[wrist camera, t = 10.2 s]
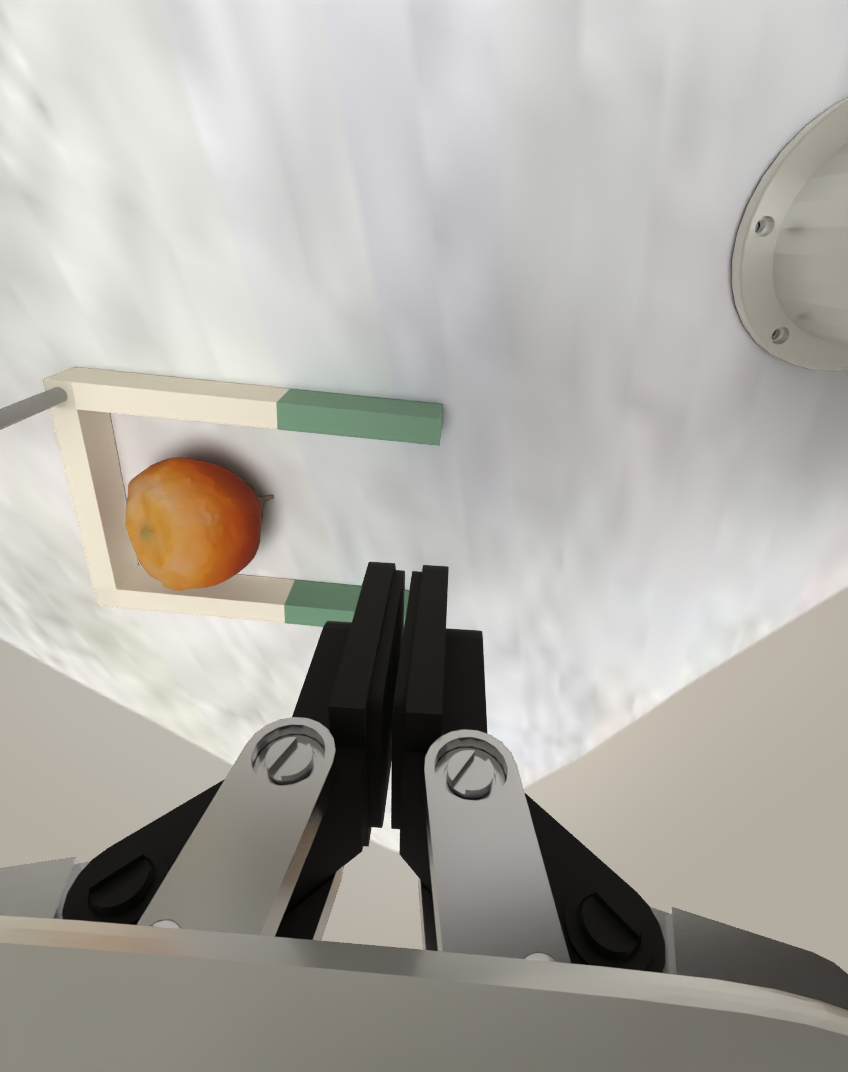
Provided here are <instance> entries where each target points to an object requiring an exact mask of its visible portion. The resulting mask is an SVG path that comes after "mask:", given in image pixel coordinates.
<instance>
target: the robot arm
mask: <svg viewBox="0 0 848 1072" xmlns="http://www.w3.org/2000/svg"><path fill="white" fill-rule="evenodd" d="M758 221H759V222H760V228H759V230H758V231H757V232H755V228H756V224H757V222H758ZM732 288H733V294H734V300H735V305H736V308H737V311H738V313H739V316H740V318H741V320H742V323H743V325H744V327H745V328H746V330H747V331H748V332H749V334H750V335H751V336H752V338H753V339H754V340H755V342H756V343H757V344H759V345H760V346H761V347H762V348H764V349H765V350H766V351H767V352H768V353H770V354H771V355H773V356H775V357H777V358H780V359H782V360H784V361H786V362H788V363H791V364H794V365H797V366H801V367H804V368H807V369H816V370H825V371H833V370H844V369H848V97H847V98H846V99H844V100H842V101H840V102H838V103H836V104H835V105H833V106H831V107H830V108H829V109H828V110H826V111H825V112H824V113H822V114H821V115H820V116H818V117H817V118H816V119H814V120H813V121H812V122H811V123H809V124H808V125H807V126H805V127H804V129H803V130H802V131H801V132H800V133H799V134H798V135H797V136H796V137H795V138H794V139H793V140H792V141H791V142H790V143H789V144H788V145H787V146H786V147H785V148H784V149H783V150H782V151H781V153H780V154H779V155H778V157H777V158H776V159H775V161H774V162H773V163H772V165H771V166H770V168H769V169H768V170H767V172H766V173H765V174H764V176H763V177H762V179H761V181H760V183H759V185H758V186H757V188H756V190H755V192H754V194H753V196H752V197H751V199H750V201H749V203H748V205H747V208H746V211H745V213H744V216H743V219H742V221H741V224H740V227H739V230H738V233H737V238H736V243H735V248H734V253H733V258H732ZM775 330H776V333H775V335H774V336H773V337H772V334H773V333H774V331H775ZM447 590H448V567H446V566H430V565H423V569H422V572H417V571H413V572H412V577H411V584H410V591H409V598H408V605H407V611H406V618H405V625H404V593H405V571H400V570H396V567H395V563H381V562H369V563H368V566H367V570H366V574H365V577H364V581H363V584H362V588H361V591H360V595H359V599H358V602H357V606H356V609H355V613H354V616H353V620H352V622H339V621H327V622H326V623H325V625H324V627H323V630H322V633H321V636H320V638H319V641H318V644H317V647H316V650H315V653H314V656H313V659H312V661H311V664H310V667H309V670H308V673H307V676H306V679H305V681H304V684H303V687H302V690H301V693H300V696H299V699H298V702H297V704H296V707H295V710H294V713H293V716H292V718H286V719H280V720H278V721H275V722H273V723H270V724H268V725H266V726H265V727H263V728H262V729H261V730H259V731H258V732H256V733H255V734H254V735H253V737H252V738H251V739H250V740H249V741H248V743H247V744H246V745H245V747H244V749H243V750H242V752H241V754H240V755H239V757H238V759H237V760H236V762H235V764H234V765H233V767H232V768H231V770H230V772H229V773H228V775H227V777H226V778H225V780H223V781H221V782H219V783H218V784H216V785H214V786H212V787H211V788H209V789H207V790H206V791H204V792H202V793H201V794H199V795H197V796H196V797H194V798H192V799H190V800H189V801H187V802H186V803H184V804H182V805H180V806H179V807H177V808H175V809H173V810H172V811H170V812H169V813H167V814H165V815H163V816H162V817H160V818H158V819H157V820H155V821H153V822H152V823H150V824H148V825H147V826H145V827H143V828H141V829H140V830H138V831H136V832H135V833H133V834H131V835H129V836H128V837H126V838H124V839H123V840H121V841H119V842H118V843H116V844H114V845H112V846H111V847H109V848H108V849H106V850H105V851H103V852H102V853H101V854H99V855H98V856H97V857H95V858H94V859H92V861H90V862H85V863H80V864H79V863H78V861H77V859H76V857H72V858H65V859H58V860H51V861H45V862H38V863H31V864H25V865H18V866H11V867H4V868H0V1072H848V974H847V973H846V972H845V971H843V970H842V969H841V968H840V967H839V966H837V965H836V964H835V963H834V962H832V961H830V960H828V959H826V958H823V957H821V956H819V955H817V954H815V953H813V952H811V951H807V950H804V949H801V948H798V947H795V946H792V945H789V944H786V943H783V942H779V941H776V940H773V939H770V938H767V937H764V936H761V935H758V934H754V933H752V932H749V931H745V930H742V929H739V928H736V927H733V926H730V925H727V924H724V923H721V922H718V921H714V920H711V919H708V918H705V917H702V916H699V915H696V914H693V913H690V912H687V911H683V910H680V909H677V908H674V907H671V909H670V911H669V913H667V912H663V911H661V910H657V909H654V908H651V907H650V906H649V905H648V904H647V903H646V902H645V901H644V900H643V899H642V898H641V896H640V895H639V894H638V893H637V892H636V891H635V890H634V889H633V888H632V887H630V886H629V885H628V884H627V883H626V882H624V881H623V880H622V879H621V878H620V877H619V876H618V875H617V874H616V873H614V872H613V871H612V870H611V869H610V868H609V867H608V866H607V865H606V864H604V863H603V862H602V861H601V860H600V859H599V858H598V857H597V856H595V855H594V854H593V853H592V852H591V851H590V850H589V849H588V848H586V847H585V846H584V845H583V844H582V843H581V842H580V841H579V840H577V839H576V838H575V837H574V836H573V835H572V834H570V833H569V832H568V831H567V830H566V829H565V828H564V827H563V826H561V825H560V824H559V823H558V822H557V821H556V820H555V819H554V818H552V817H551V816H550V815H549V814H548V813H547V812H546V811H545V810H544V809H542V808H541V807H540V806H539V805H538V804H537V803H536V802H535V801H533V800H532V799H531V798H530V797H529V796H528V795H527V794H526V793H524V789H523V786H522V782H521V778H520V775H519V771H518V767H517V764H516V762H515V760H514V757H513V755H512V753H511V752H510V751H509V749H508V748H507V747H506V746H505V745H504V744H503V743H502V742H501V741H499V740H498V739H496V738H495V737H493V736H492V735H489V734H487V717H486V696H485V675H484V655H483V636H482V631H476V630H461V629H446V614H447ZM391 761H392V797H391V828H392V829H400V855H401V857H402V858H403V859H404V860H405V861H406V863H407V864H408V865H409V866H410V867H411V869H412V870H413V871H414V872H415V873H416V875H417V876H418V877H419V885H418V887H419V900H420V914H421V926H422V941H423V950H418V949H408V948H397V947H396V948H395V947H385V946H374V945H362V944H352V943H340V942H328V941H321V940H322V936H323V934H324V931H325V927H326V925H327V922H328V918H329V916H330V912H331V910H332V907H333V903H334V900H335V898H336V895H337V892H338V889H339V886H340V883H341V879H342V874H343V868H344V865H345V864H347V863H348V862H349V861H350V860H352V859H353V858H354V857H355V856H356V855H358V854H359V853H360V852H362V849H363V846H369V840H370V834H371V827H378V828H382V826H383V820H384V813H385V805H386V798H387V791H388V783H389V776H390V768H391Z"/></svg>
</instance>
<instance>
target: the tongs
mask: <svg viewBox="0 0 848 1072" xmlns="http://www.w3.org/2000/svg"><path fill="white" fill-rule="evenodd" d="M43 383H44V388H45V392H42V393H40V394H37V395H35V396H32V397H30V398H27V399H25V400H22V401H19V402H17V403H14V404H12V405H9V406H7V407H4V408H2V409H0V430H1V429H3V428H5V427H8V426H10V425H12V424H14V423H17V422H19V421H21V420H23V419H26V418H28V417H30V416H32V415H35V414H37V413H39V412H42V411H44V410H46V409H48V408H50V412H51V416H52V420H53V424H54V429H55V433H56V437H57V441H58V445H59V449H60V453H61V457H62V461H63V466H64V470H65V474H66V478H67V482H68V486H69V490H70V494H71V498H72V503H73V507H74V511H75V515H76V519H77V523H78V527H79V531H80V535H81V539H82V544H83V548H84V552H85V556H86V560H87V564H88V568H89V572H90V576H91V581H92V585H93V589H94V593H95V597H96V601H97V605H98V606H106V607H116V608H127V609H138V610H149V611H160V612H170V613H181V614H192V615H203V616H214V617H224V618H235V619H246V620H257V621H268V622H278V623H289V624H300V625H311V626H321V627H324V625H325V623H326V622H327V621H339V622H352V620H353V616H354V613H355V609H356V606H357V602H358V599H359V595H360V591H361V588H362V586H355V585H345V584H334V583H323V582H313V581H302V580H291V579H281V578H270V577H260V576H249V575H238V574H236V575H234V576H233V577H231V578H230V579H228V580H226V581H224V582H222V583H220V584H218V585H215V586H211V587H207V588H194V589H186V590H183V591H176V590H172V589H169V588H167V587H165V586H164V585H163V584H162V582H161V581H159V580H157V579H155V578H152V577H151V576H150V575H149V574H148V573H147V572H146V571H145V570H144V568H143V567H142V565H138V560H137V555H136V553H135V551H134V549H133V547H132V545H131V542H130V539H129V536H128V533H127V530H126V526H125V523H126V504H127V502H126V497H125V491H124V486H123V481H122V476H121V470H120V465H119V460H118V455H117V449H116V444H115V439H114V434H113V428H112V423H111V418H110V413H118V414H128V415H138V416H148V417H158V418H168V419H178V420H188V421H198V422H208V423H218V424H228V425H238V426H248V427H259V428H269V429H279V430H289V431H299V432H309V433H319V434H329V435H339V436H349V437H359V438H369V439H379V440H389V441H399V442H409V443H419V444H429V445H439V446H440V437H441V428H442V404H436V403H426V402H416V401H406V400H397V399H387V398H377V397H367V396H357V395H347V394H337V393H327V392H317V391H307V390H298V389H288V388H278V387H268V386H258V385H248V384H238V383H228V382H218V381H208V380H199V379H189V378H179V377H169V376H159V375H149V374H139V373H129V372H119V371H109V370H99V369H90V368H80V367H74V368H72V369H69V370H66V371H63V372H60V373H58V374H55V375H52V376H49V377H47V378H44V379H43ZM408 598H409V591H408V590H405V593H404V625H405V618H406V611H407V605H408Z"/></svg>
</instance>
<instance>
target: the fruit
mask: <svg viewBox="0 0 848 1072" xmlns="http://www.w3.org/2000/svg"><path fill="white" fill-rule="evenodd" d="M273 496H274V495H270V496H263V497H258V496H257V495H256V493H255V491H254V489H253V488H252V487H251V486H250V485H249V484H247V483H246V482H245V481H244V480H242V479H241V478H240V477H239V476H237V475H236V474H235V473H234V472H232V471H230V470H228V469H226V468H223V467H221V466H219V465H216V464H212V463H208V462H204V461H199V460H195V459H189V458H169V459H166V460H163V461H160V462H158V463H156V464H154V465H152V466H150V467H149V468H147V469H146V470H144V471H143V472H141V473H140V474H139V475H137V476H136V477H134V478H133V479H132V480H131V481H130V483H129V485H128V497H127V504H126V523H125V526H126V530H127V533H128V536H129V539H130V542H131V545H132V547H133V549H134V551H135V553H136V555H137V558H138V560H139V562H140V564H141V565H142V567H143V568H144V570H145V571H146V572H147V573H148V574H149V575H150V576H151V577H152V578H155V579H157V580H159V581H161V582H162V584H163V585H164V586H165V587H167V588H169V589H172V590H176V591H183V590H186V589H194V588H207V587H211V586H215V585H218V584H220V583H222V582H224V581H226V580H228V579H230V578H231V577H233V576H234V575H236V574H237V573H239V572H240V571H241V570H242V569H243V568H245V567H246V566H247V565H248V564H249V563H250V562H251V561H252V559H253V558H254V556H255V555H256V552H257V550H258V547H259V543H260V530H261V521H262V517H263V513H262V512H263V505H264V503H265V501H267V500H269V499H272V498H274V497H273Z"/></svg>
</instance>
